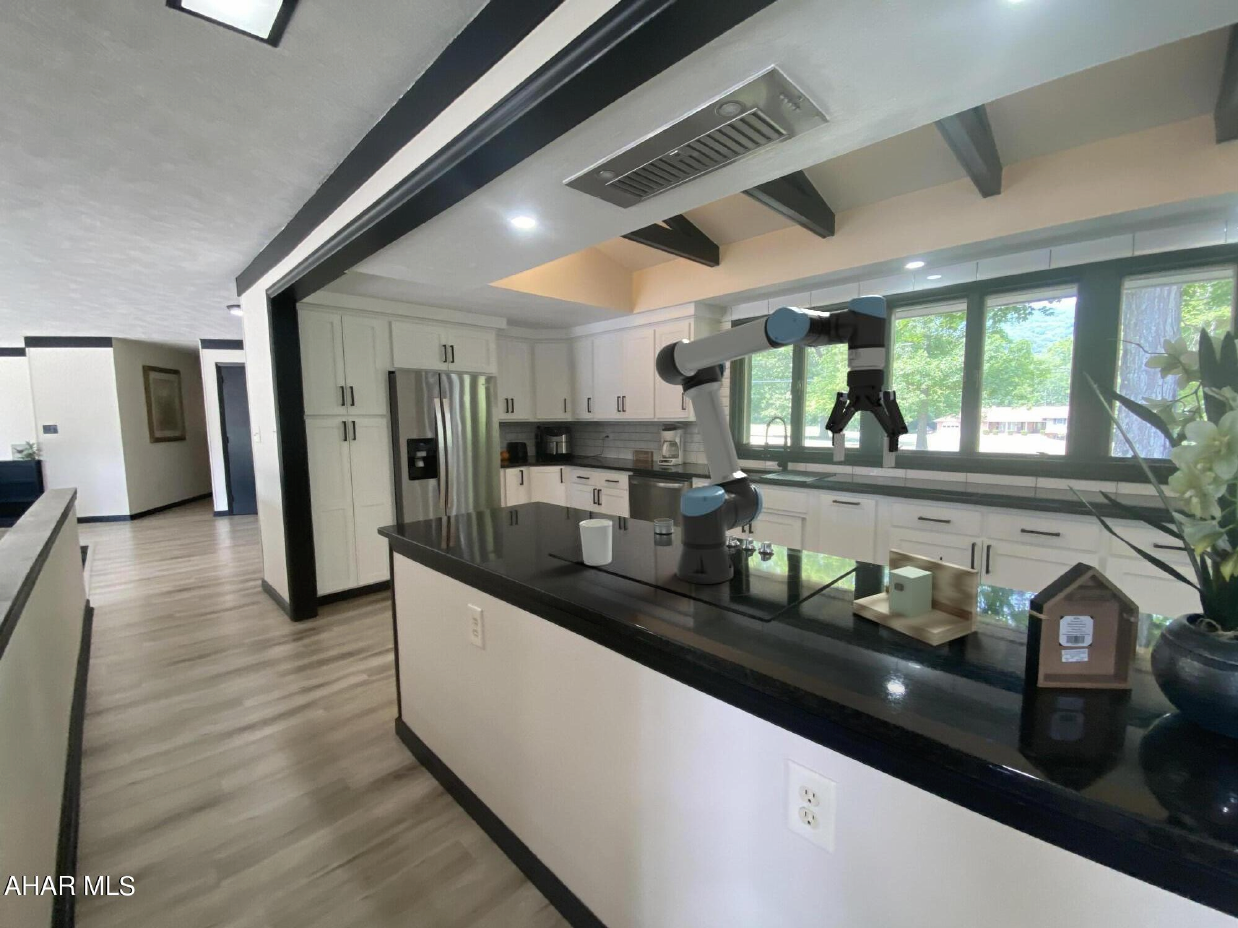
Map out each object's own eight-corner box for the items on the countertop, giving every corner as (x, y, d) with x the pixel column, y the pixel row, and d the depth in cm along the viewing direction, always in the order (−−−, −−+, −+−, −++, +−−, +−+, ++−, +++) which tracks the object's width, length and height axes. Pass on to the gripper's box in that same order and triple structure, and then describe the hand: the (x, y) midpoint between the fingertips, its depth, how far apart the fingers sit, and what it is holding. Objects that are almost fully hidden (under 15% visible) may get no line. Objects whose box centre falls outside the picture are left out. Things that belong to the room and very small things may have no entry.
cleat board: (853, 612, 111) (853, 557, 110) (892, 600, 116) (893, 548, 115) (934, 645, 95) (936, 582, 94) (976, 630, 100) (978, 570, 99)
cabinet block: (885, 609, 106) (886, 571, 105) (908, 602, 109) (909, 566, 108) (908, 618, 101) (909, 578, 100) (931, 611, 104) (932, 572, 103)
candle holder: (577, 566, 151) (575, 526, 150) (585, 556, 161) (583, 518, 159) (610, 566, 150) (608, 526, 148) (616, 556, 159) (614, 518, 158)
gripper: (810, 372, 124) (809, 459, 127) (904, 365, 102) (900, 471, 105) (834, 372, 127) (832, 457, 130) (930, 365, 105) (925, 468, 108)
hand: (862, 463), depth 117 cm, fingers open, 13 cm apart
